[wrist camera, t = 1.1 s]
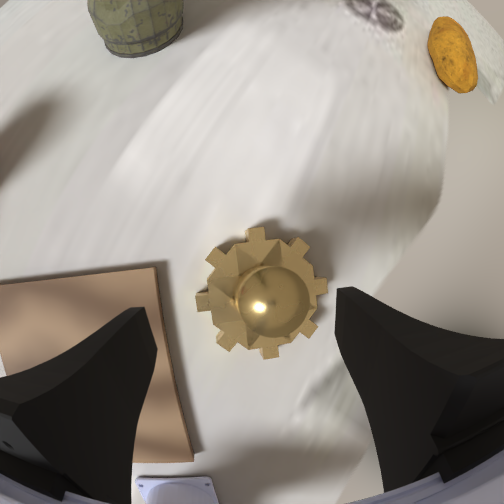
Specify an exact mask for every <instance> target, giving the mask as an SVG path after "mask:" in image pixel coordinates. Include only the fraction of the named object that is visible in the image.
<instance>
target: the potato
mask: <svg viewBox="0 0 504 504" xmlns="http://www.w3.org/2000/svg"><path fill="white" fill-rule="evenodd" d="M428 49H429V53H430V55H431V57H432V60H433V63H434V66H435V69H436V72H437V75H438V77H439V78H440V79H441V80H442V81H443V82H444V83H445V84H446V85H447V86H448V87H450V88H451V89H453V90H455V91H456V92H458V93H467V92H470V91H472V90H473V89H474V88H475V87H476V85H477V80H478V74H477V64H476V59H475V55H474V51H473V48H472V45H471V42H470V39H469V37H468V35H467V34H466V32H465V31H464V29H463V28H462V27H461V25H460V24H458V23H457V22H456V21H455V20H454V19H452V18H450V17H438V18H437V19H436V20H435V21H434V23H433V25H432V28H431V31H430V34H429V39H428Z"/></svg>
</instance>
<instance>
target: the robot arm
mask: <svg viewBox="0 0 504 504" xmlns="http://www.w3.org/2000/svg"><path fill="white" fill-rule="evenodd" d="M335 337H336V340H337V343H338V347H339V350H340V353H341V356H342V358H343V360H344V362H345V364H346V367H347V369H348V371H349V373H350V375H351V377H352V379H353V382H354V384H355V386H356V388H357V390H358V392H359V395H360V397H361V399H362V402H363V404H364V407H365V410H366V413H367V417H368V420H369V423H370V427H371V430H372V434H373V438H374V441H375V446H376V450H377V455H378V459H379V464H380V469H381V475H382V480H383V488H384V493H383V494H379V495H376V496H373V497H369V498H366V499H362V500H358V501H354V502H350V503H346V504H504V339H491V338H483V337H476V336H470V335H465V334H460V333H456V332H452V331H449V330H445V329H442V328H438V327H435V326H433V325H430V324H427V323H424V322H422V321H419V320H417V319H414V318H412V317H410V316H408V315H406V314H403V313H402V312H399V311H397V310H395V309H393V308H392V307H389V306H388V305H386V304H384V303H382V302H381V301H379V300H377V299H375V298H373V297H372V296H370V295H368V294H366V293H365V292H363V291H361V290H359V289H357V288H355V287H344V288H337V297H336V318H335ZM157 351H158V348H157V345H156V342H155V339H154V336H153V333H152V330H151V326H150V323H149V320H148V317H147V313H146V310H145V307H130V308H128V309H127V310H125V311H123V312H122V313H120V314H119V315H117V316H116V317H115V318H113V319H112V320H111V321H109V322H108V323H106V324H105V325H104V326H102V327H101V328H100V329H98V330H97V331H96V332H94V333H93V334H91V335H90V336H88V337H87V338H85V339H84V340H82V341H81V342H79V343H78V344H77V345H75V346H73V347H72V348H70V349H69V350H67V351H65V352H63V353H62V354H60V355H58V356H56V357H54V358H52V359H50V360H48V361H46V362H44V363H41V364H39V365H37V366H35V367H32V368H30V369H27V370H24V371H22V372H19V373H16V374H12V375H9V376H5V377H1V378H0V504H131V476H132V461H133V452H134V443H135V437H136V431H137V425H138V421H139V417H140V413H141V410H142V407H143V404H144V401H145V397H146V394H147V391H148V388H149V385H150V382H151V379H152V376H153V373H154V369H155V363H156V358H157ZM135 483H136V485H137V487H138V489H139V491H140V493H141V495H142V497H143V499H144V501H145V504H219V502H218V499H217V496H216V493H215V489H214V486H213V483H212V480H211V478H210V477H207V476H204V477H187V478H136V479H135ZM206 483H209V484H206ZM140 484H142V485H140Z"/></svg>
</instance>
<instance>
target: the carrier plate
mask: <svg viewBox="0 0 504 504" xmlns="http://www.w3.org/2000/svg"><path fill="white" fill-rule="evenodd" d="M130 307H145V310H146V313H147V317H148V320H149V323H150V326H151V330H152V333H153V336H154V339H155V342H156V345H157V348H158V351H157V358H156V363H155V369H154V373H153V376H152V379H151V382H150V385H149V388H148V391H147V394H146V397H145V401H144V404H143V407H142V410H141V413H140V417H139V421H138V425H137V431H136V437H135V443H134V452H133V461H132V463H180V462H194V452H193V449H192V445H191V442H190V438H189V435H188V431H187V427H186V423H185V420H184V416H183V412H182V408H181V403H180V399H179V395H178V391H177V386H176V382H175V377H174V372H173V368H172V363H171V358H170V353H169V347H168V342H167V336H166V331H165V325H164V319H163V313H162V306H161V300H160V293H159V285H158V278H157V270H156V267H152V268H144V269H135V270H127V271H118V272H110V273H101V274H92V275H84V276H75V277H66V278H58V279H49V280H40V281H31V282H23V283H14V284H5V285H0V354H1V358H2V361H3V365H4V368H5V372H6V375H7V376H9V375H12V374H16V373H19V372H22V371H24V370H27V369H30V368H32V367H35V366H37V365H39V364H41V363H44V362H46V361H48V360H50V359H52V358H54V357H56V356H58V355H60V354H62V353H63V352H65V351H67V350H69V349H70V348H72V347H73V346H75V345H77V344H78V343H79V342H81V341H82V340H84V339H85V338H87V337H88V336H90V335H91V334H93V333H94V332H96V331H97V330H98V329H100V328H101V327H102V326H104V325H105V324H106V323H108V322H109V321H111V320H112V319H113V318H115V317H116V316H117V315H119V314H120V313H122V312H123V311H125V310H127V309H128V308H130Z"/></svg>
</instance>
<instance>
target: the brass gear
mask: <svg viewBox="0 0 504 504" xmlns="http://www.w3.org/2000/svg"><path fill="white" fill-rule="evenodd" d="M245 235H246V243H237V244H234V245H233V246H232V247H231V249H230V250H229V251H228V252H227V254H226V255H225V254H224V253H223V252H221V251H220V250H219V249H218V248H216V247H215V248H214V249H213V250H212V252H211V253H210V254H209V255H208V257H207V258H206V259H205V260H206V261H207V262H209V263H210V264H211V265H212V266H214V267H215V269H214V270H213V272H212V273H211V274H210V276H209V277H208V278H207V284H208V292H199V293H196V295H195V297H196V304H197V311H198V312H202V311H210V310H211V313H212V320H213V325H215V326H216V327H217V328H219V329H220V330H221V331H220V332H219V333H218V334H217V336H216V343H217V344H219V345H220V346H222V347H223V348H224V349H226V350H227V351H229V352H230V351H231V349H232V348H233V347H234V346H235V344H236V343H237V342H238V343H240V344H241V345H242V346H244V347H245V348H247V349H248V350H250V349H257V348H259V350H260V353H261V355H262V357H263V359H270V358H276V357H279V351H278V345H281V344H287V343H291V342H292V341H293V340H294V338H295V337H296V336H297V335H298V333H299V332H300V333H302V334H303V335H305V336H306V337H307V338H310V337H311V335H312V334H313V333H314V332H315V330H316V329H317V328H318V326H317V325H316V324H314V323H313V322H312V321H310V320H309V319H310V318H311V316H312V315H313V314H314V312H315V311H316V309H317V300H316V295H320V294H325V293H328V289H327V279H326V278H324V277H318V276H317V277H314V271H313V266H312V265H311V264H310V263H309V262H308V261H306V260H305V259H304V258H303V256H304V255H305V253H306V252H307V251H308V249H309V248H310V246H308V245H307V244H306V243H305V242H304V241H302V240H301V239H300V238H299V237H297V238H293V239H291V240H290V241H289V243H288V244H286V243H284V242H283V241H282V240H281V239H272V240H266V239H265V231H264V227H257V228H248V229H247V230H246V231H245Z"/></svg>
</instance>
